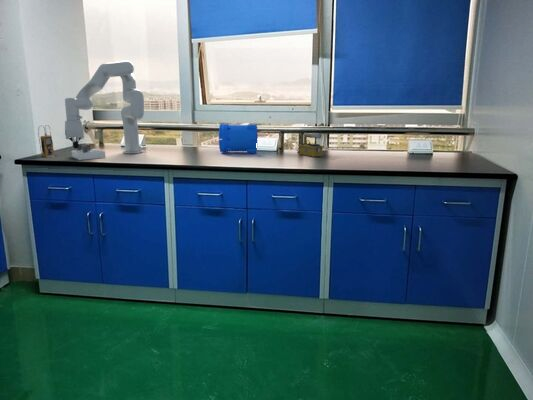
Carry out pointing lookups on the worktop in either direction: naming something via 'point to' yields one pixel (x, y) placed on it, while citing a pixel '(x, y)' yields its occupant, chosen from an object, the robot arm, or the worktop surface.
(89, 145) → the breaker
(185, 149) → the worktop surface
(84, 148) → the breaker
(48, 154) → the multimeter
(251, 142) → the blue plastic case
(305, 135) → the geiger counter
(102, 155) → the breaker panel
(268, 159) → the worktop surface
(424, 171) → the worktop surface
